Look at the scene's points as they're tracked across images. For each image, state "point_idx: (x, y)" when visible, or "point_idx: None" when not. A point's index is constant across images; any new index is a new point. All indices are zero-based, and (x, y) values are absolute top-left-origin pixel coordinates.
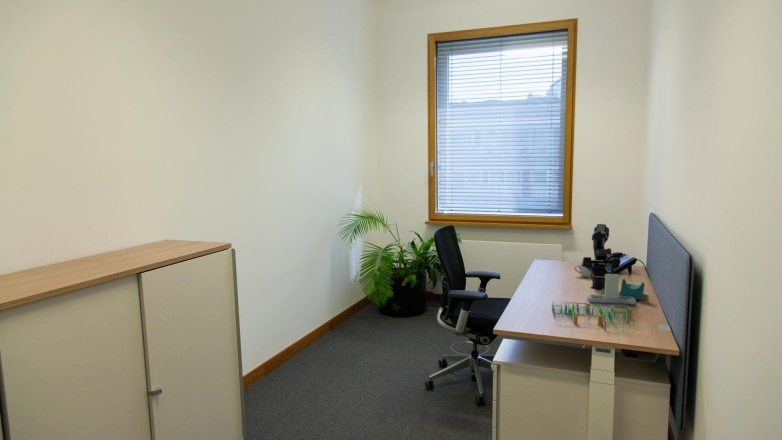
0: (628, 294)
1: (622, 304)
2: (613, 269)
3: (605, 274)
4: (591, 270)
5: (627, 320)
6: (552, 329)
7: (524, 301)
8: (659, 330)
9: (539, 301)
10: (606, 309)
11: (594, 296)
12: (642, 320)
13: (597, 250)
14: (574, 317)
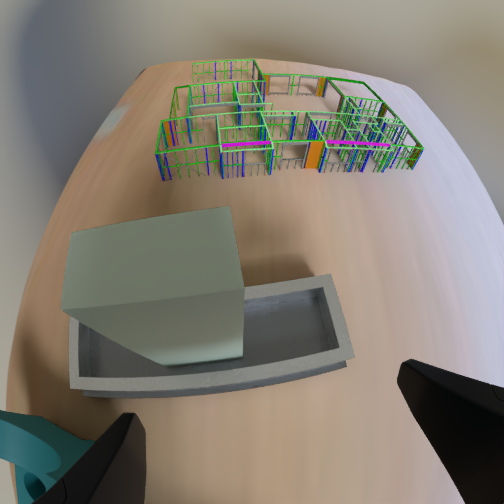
0: (84, 447)
1: None
2: (69, 478)
3: (243, 285)
4: (467, 388)
5: (191, 105)
6: None
7: (499, 239)
8: (133, 104)
9: (480, 254)
10: (242, 165)
11: (309, 355)
12: (138, 143)
13: None
14: (324, 83)
